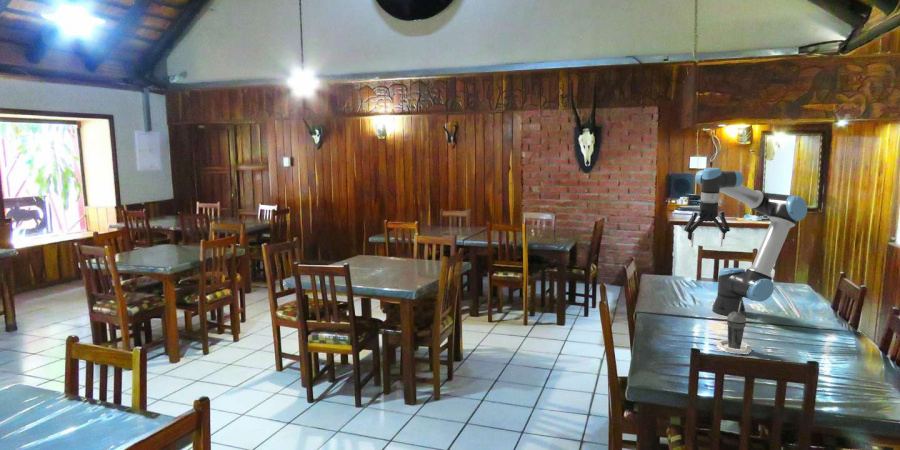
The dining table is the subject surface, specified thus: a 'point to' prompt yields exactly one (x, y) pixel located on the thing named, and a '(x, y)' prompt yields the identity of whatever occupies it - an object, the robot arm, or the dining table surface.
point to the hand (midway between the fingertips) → (705, 246)
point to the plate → (724, 346)
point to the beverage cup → (735, 328)
